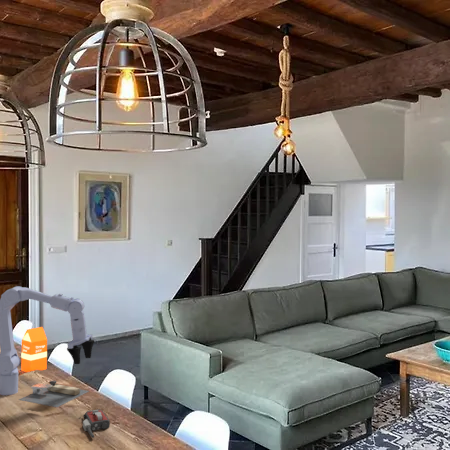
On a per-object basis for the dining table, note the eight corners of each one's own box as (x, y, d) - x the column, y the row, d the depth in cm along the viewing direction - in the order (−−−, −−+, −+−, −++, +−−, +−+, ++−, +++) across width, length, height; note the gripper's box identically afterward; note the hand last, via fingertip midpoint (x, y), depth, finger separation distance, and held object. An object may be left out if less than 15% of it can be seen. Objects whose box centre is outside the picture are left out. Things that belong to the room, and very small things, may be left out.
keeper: (36, 391, 207) (37, 383, 207) (52, 393, 206) (52, 384, 206) (31, 395, 203) (31, 386, 203) (46, 396, 202) (47, 387, 202)
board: (18, 402, 198) (18, 399, 198) (53, 387, 217) (53, 384, 216) (57, 409, 191) (57, 407, 191) (89, 393, 210) (89, 391, 210)
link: (47, 390, 208) (47, 382, 208) (52, 388, 211) (52, 380, 211) (75, 395, 203) (75, 386, 203) (79, 393, 206) (80, 384, 206)
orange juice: (20, 370, 239) (21, 328, 239) (37, 366, 246) (37, 325, 246) (30, 373, 235) (31, 330, 235) (47, 369, 242) (47, 327, 242)
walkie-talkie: (77, 419, 183) (89, 441, 165) (77, 407, 183) (89, 428, 165) (101, 415, 187) (115, 436, 169) (102, 404, 187) (116, 423, 169)
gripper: (76, 332, 201) (80, 366, 201) (96, 323, 214) (100, 355, 215) (61, 333, 203) (65, 366, 203) (83, 324, 217) (86, 355, 217)
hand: (82, 360), depth 209 cm, fingers open, 7 cm apart
